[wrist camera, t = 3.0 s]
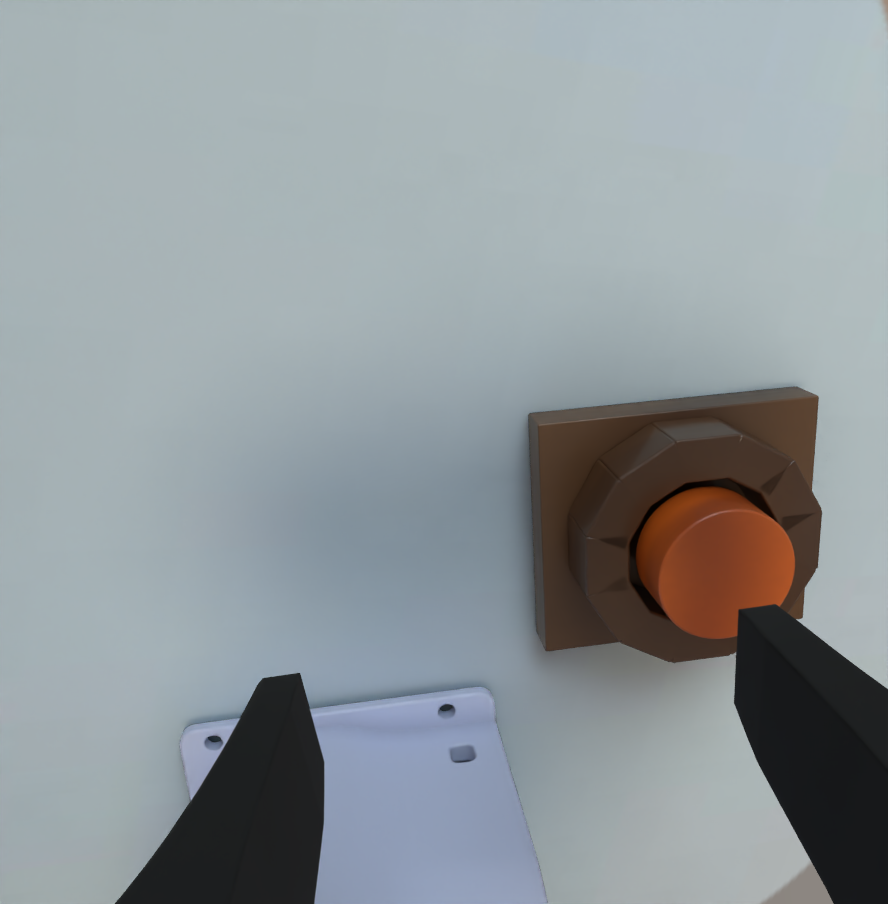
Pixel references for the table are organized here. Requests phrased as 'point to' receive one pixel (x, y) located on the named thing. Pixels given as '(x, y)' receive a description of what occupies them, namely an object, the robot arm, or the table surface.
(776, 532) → the button
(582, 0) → the table surface
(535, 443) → the button block
